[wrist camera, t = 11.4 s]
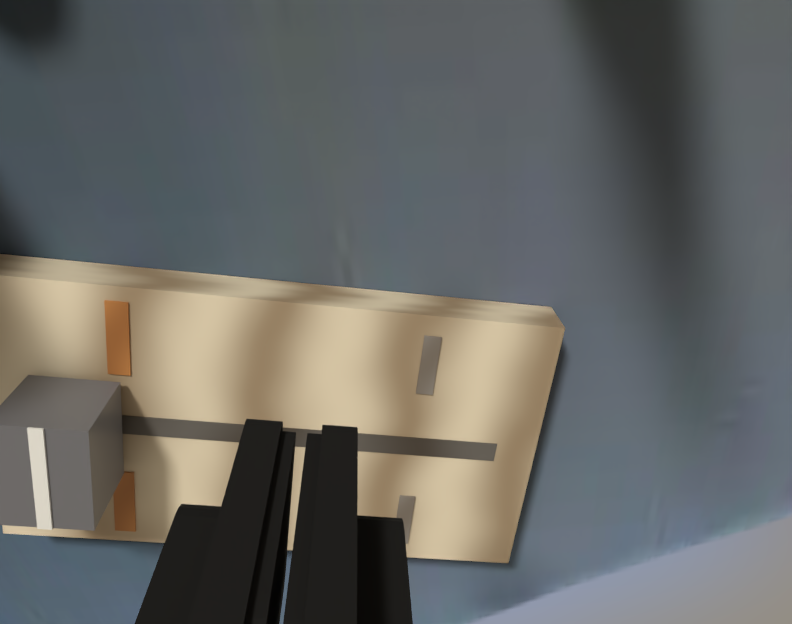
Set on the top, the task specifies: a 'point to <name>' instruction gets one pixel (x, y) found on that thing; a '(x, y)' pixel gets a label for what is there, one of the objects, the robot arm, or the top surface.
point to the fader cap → (60, 452)
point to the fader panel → (294, 390)
